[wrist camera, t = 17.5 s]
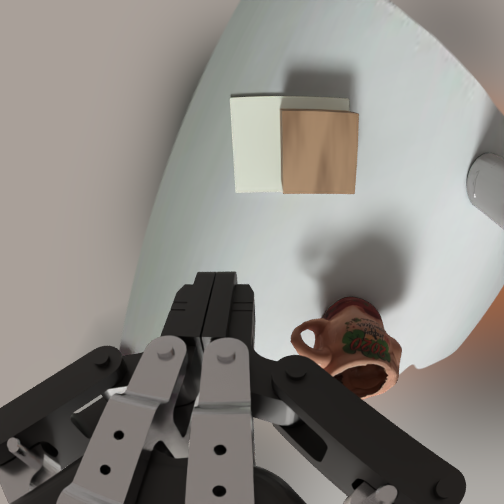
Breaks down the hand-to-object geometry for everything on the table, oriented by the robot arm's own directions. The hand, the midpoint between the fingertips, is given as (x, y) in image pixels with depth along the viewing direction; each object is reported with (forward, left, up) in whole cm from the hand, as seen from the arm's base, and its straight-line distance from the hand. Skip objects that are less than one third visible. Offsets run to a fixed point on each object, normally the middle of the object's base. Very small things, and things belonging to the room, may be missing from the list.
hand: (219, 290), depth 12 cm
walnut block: (-4, -1, -24) cm, 24 cm away
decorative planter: (-14, +26, -27) cm, 40 cm away
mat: (-5, -1, -27) cm, 27 cm away
